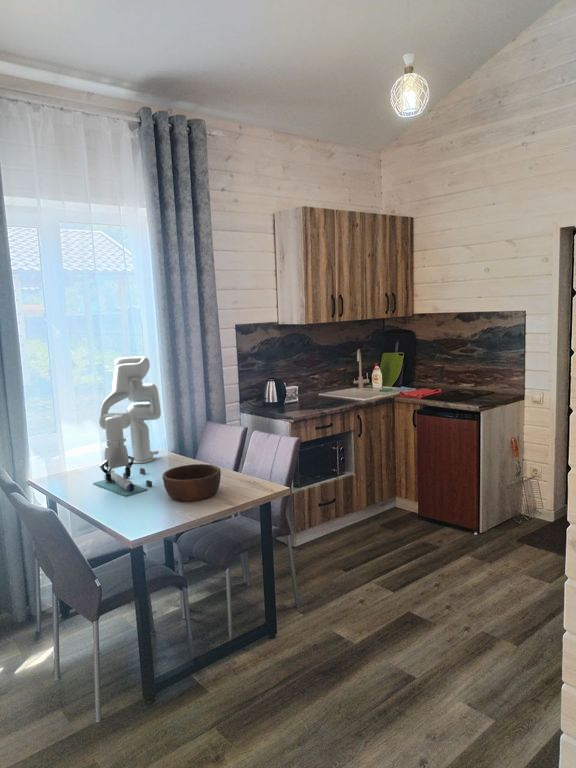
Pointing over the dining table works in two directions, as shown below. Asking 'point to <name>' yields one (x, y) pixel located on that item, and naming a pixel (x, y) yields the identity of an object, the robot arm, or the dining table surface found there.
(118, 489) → the mat
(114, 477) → the grey tube
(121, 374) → the robot arm
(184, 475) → the wooden bowl
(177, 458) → the dining table surface
